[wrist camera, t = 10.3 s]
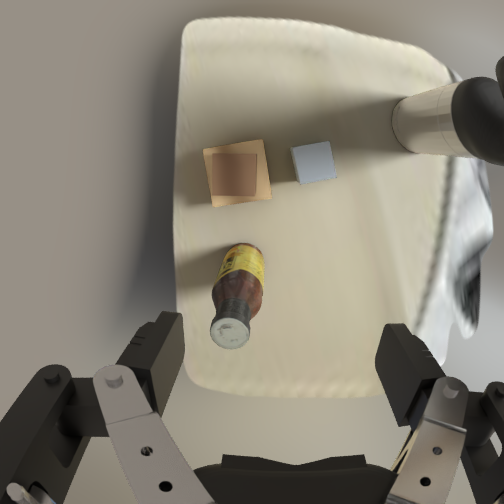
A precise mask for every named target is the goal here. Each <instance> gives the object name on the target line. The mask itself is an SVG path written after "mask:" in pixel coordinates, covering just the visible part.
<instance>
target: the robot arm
mask: <svg viewBox="0 0 504 504" xmlns="http://www.w3.org/2000/svg"><path fill="white" fill-rule="evenodd" d="M496 76H497V80H498V82H497V81H495V80H493V79H491V78H487V77H475V78H471V79H467V80H464V81H460V82H456V83H453V84H450V85H446V86H443V87H439V88H436V89H433V90H430V91H426V92H423V93H420V94H417V95H413V96H410V97H407V98H405V99H403V100H401V101H400V102H399V103H398V104H397V105H396V107H395V108H394V111H393V115H392V127H393V131H394V134H395V136H396V138H397V139H398V141H399V142H400V143H401V145H402V146H403V147H405V148H406V149H407V150H409V151H411V152H414V153H421V154H433V155H445V156H455V157H465V158H475V159H482V160H485V161H487V162H489V163H492V164H496V165H501V166H504V56H503V57H502V58H501V59H500V60H499V61H498V63H497V65H496ZM184 353H185V343H184V330H183V317H182V314H181V313H176V312H167V311H162V312H161V314H160V315H159V317H158V318H157V320H156V322H155V323H154V322H148V323H146V324H145V325H143V326H142V327H140V328H139V329H138V331H137V332H136V334H135V335H134V337H133V338H132V340H131V341H130V344H128V346H127V347H126V349H125V350H124V352H123V353H122V355H121V356H120V358H119V360H118V361H117V363H116V364H115V365H109V366H105V367H103V368H101V369H100V370H98V371H97V372H96V373H95V375H94V377H93V378H72V376H71V373H70V371H69V370H68V368H66V367H64V366H62V365H48V366H46V367H43V368H42V369H40V370H39V371H38V372H37V373H36V374H35V375H34V377H33V378H32V380H31V381H30V382H29V383H28V385H27V386H26V387H25V389H24V390H23V391H22V393H21V394H20V395H19V397H18V398H17V399H16V401H15V402H14V404H13V405H12V406H11V408H10V409H9V410H8V412H7V413H6V415H5V416H4V418H3V419H2V420H1V422H0V504H63V502H64V500H65V497H66V495H67V492H68V490H69V487H70V485H71V482H72V480H73V478H74V475H75V473H76V470H77V468H78V466H79V463H80V461H81V459H82V456H83V454H84V452H85V449H86V447H87V445H88V443H89V441H90V438H91V437H110V439H111V442H112V444H113V447H114V450H115V452H116V455H117V457H118V460H119V462H120V464H121V467H122V469H123V472H124V474H125V476H126V478H127V480H128V483H129V485H130V487H131V489H132V491H133V494H134V496H135V498H136V500H137V502H138V504H445V502H446V499H447V497H448V494H449V491H450V488H451V485H452V482H453V479H454V476H455V473H456V469H457V466H458V463H459V460H460V458H461V461H462V463H463V466H464V469H465V472H466V475H467V477H468V480H469V483H470V485H471V489H472V492H473V495H474V498H475V501H476V504H504V383H502V382H491V383H489V385H488V386H487V387H486V389H485V391H484V393H482V392H470V391H469V390H468V388H467V386H466V385H465V384H464V383H463V382H462V381H461V380H458V379H457V378H454V377H447V376H446V375H445V373H444V372H443V370H442V369H441V367H440V366H439V364H438V363H437V361H436V360H435V358H434V357H433V355H432V354H431V352H430V351H429V349H428V348H427V346H426V345H425V343H424V342H423V341H422V340H421V339H419V338H418V337H417V336H415V335H412V334H411V332H410V331H409V330H408V328H407V327H406V325H405V324H403V323H401V324H386V325H385V327H384V329H383V333H382V336H381V340H380V343H379V346H378V350H377V353H376V357H375V368H376V371H377V373H378V376H379V378H380V381H381V383H382V385H383V388H384V390H385V393H386V395H387V398H388V400H389V403H390V406H391V408H392V411H393V413H394V416H395V418H396V421H397V424H398V426H399V427H401V426H408V425H410V427H411V430H410V432H409V433H408V435H407V437H406V439H405V442H404V444H403V446H402V448H401V450H400V452H399V454H398V456H397V458H396V460H395V461H394V463H393V465H392V467H391V469H390V470H388V469H386V468H383V467H380V466H376V465H372V464H366V460H365V456H364V454H363V455H353V456H340V457H330V458H326V459H322V460H318V461H315V462H310V463H306V464H301V465H290V464H286V463H282V462H277V461H273V460H268V459H264V458H260V457H248V456H236V455H225V454H223V457H222V463H221V464H214V465H208V466H204V467H201V468H197V469H195V470H192V469H191V467H190V466H189V464H188V463H187V461H186V460H185V458H184V456H183V455H182V453H181V452H180V450H179V448H178V447H177V445H176V444H175V442H174V440H173V439H172V437H171V435H170V434H169V432H168V430H167V428H166V427H165V425H164V423H163V421H162V420H161V417H162V414H163V412H164V409H165V406H166V403H167V401H168V398H169V396H170V393H171V391H172V387H173V385H174V383H175V380H176V377H177V375H178V372H179V370H180V367H181V364H182V362H183V359H184ZM495 431H496V433H497V435H498V437H499V439H500V441H501V443H502V452H501V455H500V457H498V455H497V453H496V451H495V448H494V446H493V444H492V442H491V440H490V437H491V436H492V434H493V433H494V432H495Z"/></svg>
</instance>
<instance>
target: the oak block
mask: <svg viewBox="0 0 504 504" xmlns="http://www.w3.org/2000/svg"><path fill="white" fill-rule="evenodd" d="M212 153H245V154H257V181H256V194H255V197H252V196H212ZM203 155H204V161H205V167H206V172H207V178H208V183H209V189H210V194H211V200H212V205H213V207H218V206H224V205H231V204H237V203H244V202H250V201H257V200H264V199H271V198H272V194H271V187H270V181H269V174H268V168H267V161H266V155H265V149H264V143H263V139H259V140H252V141H246V142H240V143H234V144H228V145H223V146H217V147H212V148H207V149H203Z"/></svg>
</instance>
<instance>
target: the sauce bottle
mask: <svg viewBox="0 0 504 504" xmlns="http://www.w3.org/2000/svg"><path fill="white" fill-rule="evenodd" d="M263 284H264V259H263V256H262V253H261V251H260V250H259V249H258V248H257V247H255V246H253V245H251V244H248V243H241V244H237V245H235V246H233V247H232V248H231V249H230V250H229V251H228V252H227V254H226V255H225V258H224V260H223V263H222V265H221V268H220V270H219V273H218V276H217V279H216V281H215V284H214V287H213V290H212V299H213V302H214V305H215V308H216V316H215V317H214V319H213V320H212V323H211V328H210V335H211V337H212V340H213V341H214V342H215V343H216V344H217V345H219V346H220V347H222V348H225V349H237V348H241V347H242V346H244V345H245V344H246V343H247V341H248V339H249V336H250V325H249V321H250V320H251V319H252V318H253V317H254V316H255V315H256V314H257V313H258V311H259V309H260V307H261V303H262V296H263Z"/></svg>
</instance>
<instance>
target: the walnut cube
mask: <svg viewBox="0 0 504 504" xmlns="http://www.w3.org/2000/svg"><path fill="white" fill-rule="evenodd" d="M256 181H257V154H245V153H212V196H252V197H255V194H256Z"/></svg>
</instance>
